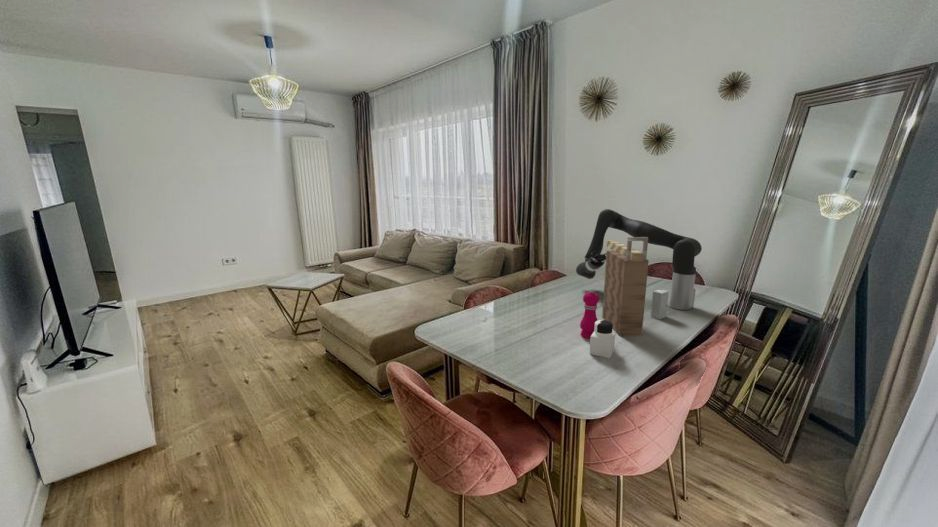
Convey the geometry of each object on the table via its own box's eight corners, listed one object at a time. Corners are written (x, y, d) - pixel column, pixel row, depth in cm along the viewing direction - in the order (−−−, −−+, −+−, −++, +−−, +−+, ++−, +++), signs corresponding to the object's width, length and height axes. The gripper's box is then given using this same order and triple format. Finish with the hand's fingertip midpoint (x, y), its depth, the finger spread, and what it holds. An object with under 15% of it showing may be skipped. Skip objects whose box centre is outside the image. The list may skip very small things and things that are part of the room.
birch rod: (606, 246, 165) (606, 240, 164) (613, 246, 165) (614, 240, 164) (634, 261, 136) (634, 253, 135) (642, 261, 136) (643, 253, 135)
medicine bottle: (614, 351, 132) (616, 320, 129) (610, 359, 126) (612, 327, 123) (594, 346, 136) (596, 316, 133) (589, 354, 130) (591, 323, 127)
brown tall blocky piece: (602, 317, 164) (607, 230, 155) (622, 316, 164) (629, 230, 155) (619, 335, 144) (626, 238, 135) (641, 335, 144) (650, 237, 135)
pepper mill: (589, 341, 140) (591, 292, 135) (575, 334, 146) (577, 287, 142) (602, 337, 143) (605, 289, 139) (588, 331, 149) (591, 285, 145)
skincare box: (659, 319, 159) (662, 293, 157) (649, 316, 163) (652, 291, 160) (667, 316, 163) (669, 291, 160) (657, 313, 166) (659, 288, 164)
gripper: (580, 255, 189) (588, 245, 173) (607, 255, 188) (618, 244, 173) (581, 269, 187) (590, 260, 171) (609, 269, 186) (620, 259, 171)
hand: (604, 252), depth 172 cm, fingers open, 8 cm apart
